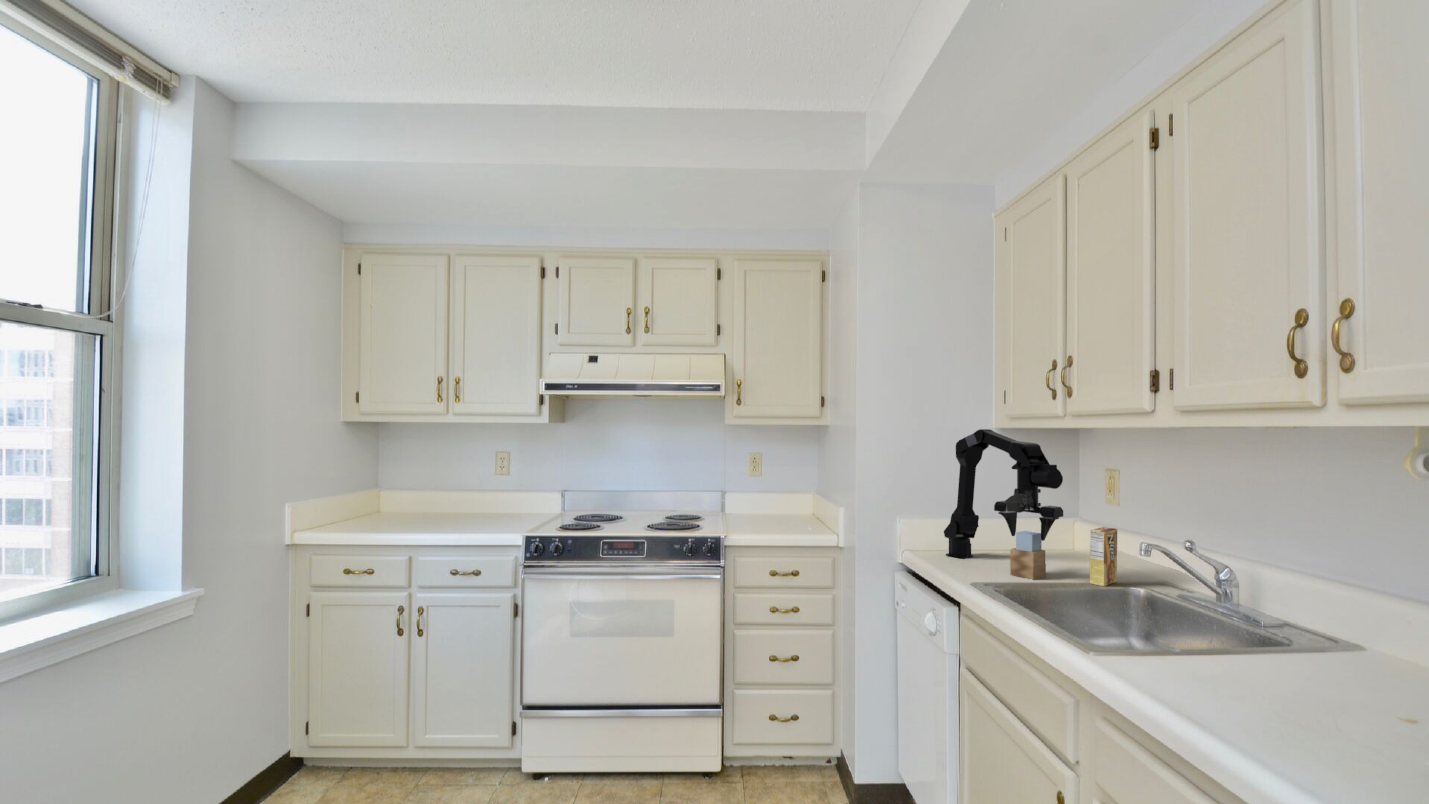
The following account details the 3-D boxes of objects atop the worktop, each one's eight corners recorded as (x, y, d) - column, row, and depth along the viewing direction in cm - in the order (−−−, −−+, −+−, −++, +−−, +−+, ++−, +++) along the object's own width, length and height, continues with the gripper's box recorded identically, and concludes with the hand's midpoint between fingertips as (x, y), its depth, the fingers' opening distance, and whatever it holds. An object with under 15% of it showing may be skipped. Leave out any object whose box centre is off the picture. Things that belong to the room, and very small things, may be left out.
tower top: (1010, 562, 205) (1010, 549, 205) (1022, 559, 209) (1022, 546, 209) (1033, 566, 199) (1033, 552, 199) (1045, 563, 204) (1045, 550, 204)
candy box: (1102, 579, 201) (1102, 526, 201) (1118, 582, 197) (1117, 528, 198) (1089, 583, 195) (1089, 529, 195) (1105, 586, 192) (1105, 531, 192)
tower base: (1010, 576, 205) (1010, 562, 205) (1023, 573, 209) (1023, 559, 209) (1033, 580, 199) (1033, 566, 199) (1045, 577, 203) (1045, 563, 203)
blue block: (1016, 549, 205) (1016, 532, 205) (1025, 547, 208) (1025, 530, 208) (1032, 551, 201) (1032, 534, 201) (1041, 550, 204) (1041, 533, 204)
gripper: (983, 484, 208) (983, 536, 207) (1043, 489, 192) (1043, 545, 192) (1004, 482, 214) (1004, 532, 214) (1064, 487, 199) (1064, 541, 199)
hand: (1027, 538), depth 204 cm, fingers open, 9 cm apart
